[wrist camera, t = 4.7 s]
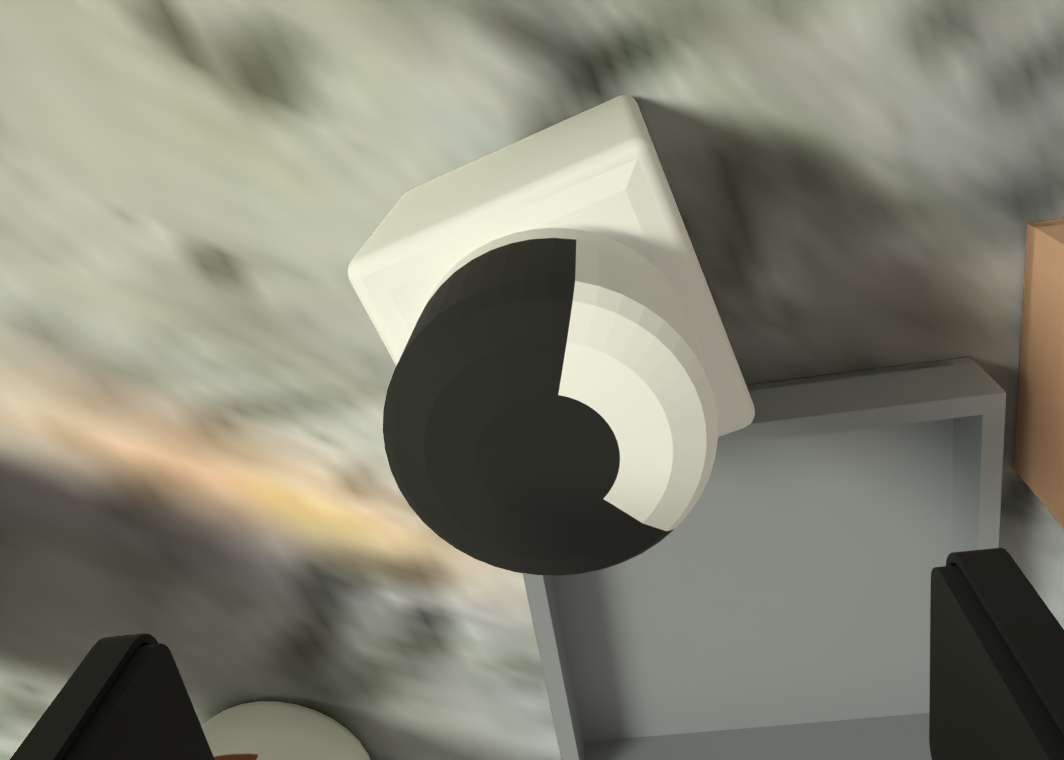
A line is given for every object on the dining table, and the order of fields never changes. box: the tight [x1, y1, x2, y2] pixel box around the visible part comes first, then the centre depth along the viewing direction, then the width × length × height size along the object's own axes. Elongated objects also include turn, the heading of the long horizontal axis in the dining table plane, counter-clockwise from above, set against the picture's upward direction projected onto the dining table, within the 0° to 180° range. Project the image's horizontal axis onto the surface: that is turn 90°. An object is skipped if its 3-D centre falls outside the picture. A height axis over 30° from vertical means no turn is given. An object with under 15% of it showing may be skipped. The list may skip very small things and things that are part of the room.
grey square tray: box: [523, 357, 1006, 760], centre depth 30 cm, size 14×14×2 cm
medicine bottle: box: [348, 95, 755, 576], centre depth 21 cm, size 7×7×12 cm
